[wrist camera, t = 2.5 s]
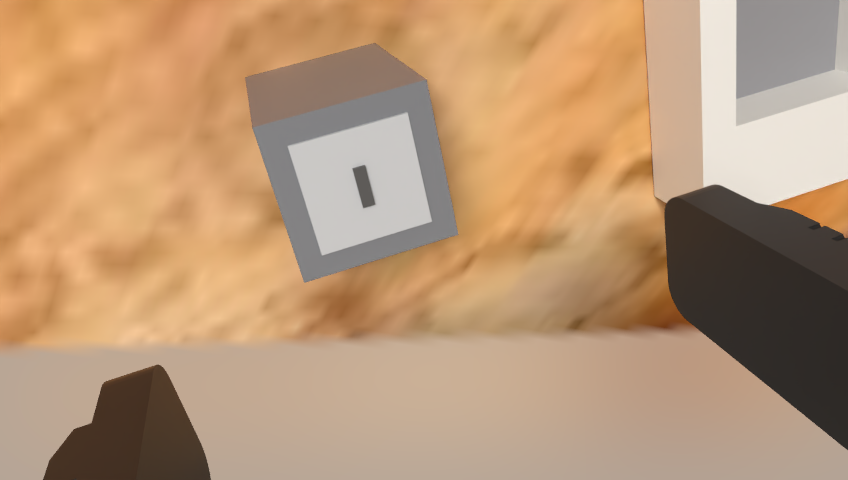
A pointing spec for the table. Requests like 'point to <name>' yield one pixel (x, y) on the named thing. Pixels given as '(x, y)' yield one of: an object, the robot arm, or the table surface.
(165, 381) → the robot arm
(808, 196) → the table surface
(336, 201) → the block
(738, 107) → the power strip
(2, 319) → the table surface
